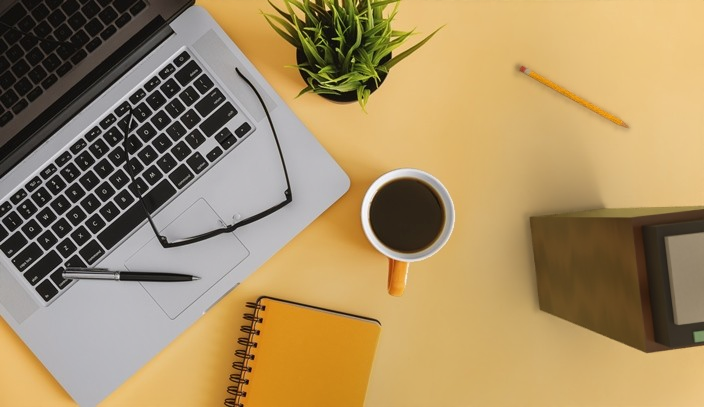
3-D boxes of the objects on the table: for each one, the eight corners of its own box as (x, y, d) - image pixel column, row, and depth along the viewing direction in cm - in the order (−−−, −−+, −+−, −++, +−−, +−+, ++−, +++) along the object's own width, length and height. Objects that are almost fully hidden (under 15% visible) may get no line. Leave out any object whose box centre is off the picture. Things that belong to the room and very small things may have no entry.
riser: (616, 300, 83) (756, 338, 57) (539, 310, 82) (646, 353, 56) (605, 208, 83) (740, 204, 57) (529, 216, 82) (630, 217, 56)
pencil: (521, 66, 83) (523, 65, 82) (630, 126, 84) (632, 125, 83) (518, 71, 83) (520, 69, 82) (627, 130, 84) (630, 130, 83)
